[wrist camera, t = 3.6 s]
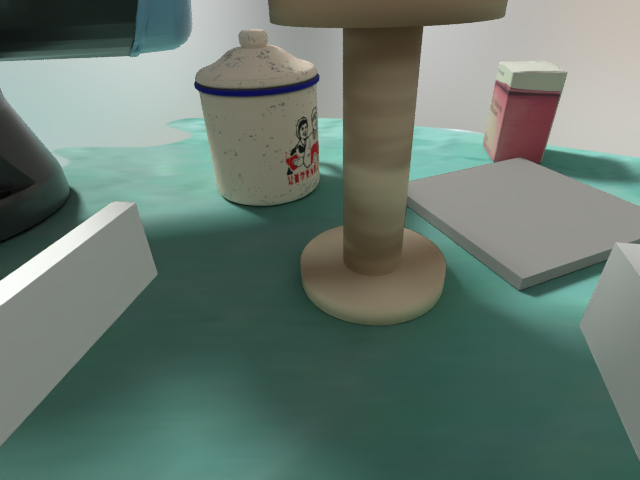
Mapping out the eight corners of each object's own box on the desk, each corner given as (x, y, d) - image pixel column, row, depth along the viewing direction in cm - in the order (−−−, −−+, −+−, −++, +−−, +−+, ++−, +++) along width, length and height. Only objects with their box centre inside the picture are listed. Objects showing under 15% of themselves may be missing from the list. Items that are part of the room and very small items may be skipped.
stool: (273, 253, 25) (241, -22, 17) (396, 222, 28) (417, -28, 20) (331, 356, 18) (321, -32, 10) (489, 301, 21) (576, -38, 13)
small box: (481, 145, 40) (497, 60, 36) (526, 145, 40) (548, 59, 36) (492, 163, 36) (512, 70, 32) (543, 164, 36) (570, 70, 31)
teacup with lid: (313, 212, 30) (305, 36, 23) (197, 207, 31) (159, 39, 25) (332, 154, 40) (330, 20, 33) (244, 152, 41) (226, 22, 35)
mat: (391, 194, 32) (392, 184, 31) (518, 165, 36) (520, 156, 35) (519, 290, 21) (522, 278, 21) (676, 235, 25) (682, 224, 25)
